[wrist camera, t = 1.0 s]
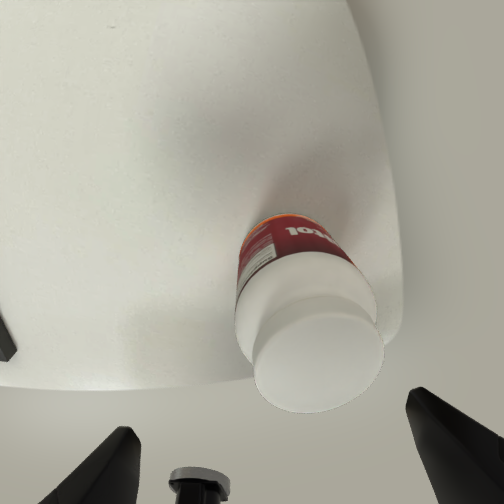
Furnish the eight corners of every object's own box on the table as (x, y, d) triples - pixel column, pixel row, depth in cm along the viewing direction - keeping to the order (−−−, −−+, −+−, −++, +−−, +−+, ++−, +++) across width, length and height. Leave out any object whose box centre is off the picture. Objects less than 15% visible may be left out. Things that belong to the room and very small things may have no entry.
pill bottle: (350, 248, 20) (434, 346, 10) (292, 314, 22) (323, 441, 11) (278, 190, 19) (318, 253, 8) (219, 266, 20) (196, 387, 10)
